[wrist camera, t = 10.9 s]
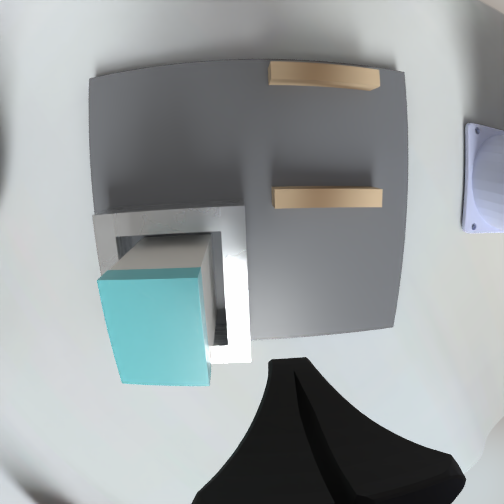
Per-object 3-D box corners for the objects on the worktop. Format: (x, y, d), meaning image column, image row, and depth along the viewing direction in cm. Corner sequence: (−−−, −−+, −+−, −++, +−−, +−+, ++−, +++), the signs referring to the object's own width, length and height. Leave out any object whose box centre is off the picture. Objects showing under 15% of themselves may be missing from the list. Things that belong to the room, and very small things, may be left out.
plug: (211, 233, 18) (197, 277, 12) (217, 313, 20) (209, 386, 13) (143, 237, 18) (96, 280, 12) (153, 314, 20) (122, 383, 13)
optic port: (244, 199, 18) (244, 205, 16) (249, 339, 21) (250, 361, 18) (109, 207, 18) (92, 215, 15) (131, 340, 20) (120, 361, 18)
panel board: (397, 75, 17) (404, 72, 16) (387, 320, 22) (393, 327, 21) (95, 81, 16) (89, 78, 15) (121, 333, 21) (117, 341, 20)
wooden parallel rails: (369, 75, 16) (379, 69, 15) (371, 203, 18) (381, 207, 17) (267, 68, 16) (270, 61, 14) (271, 204, 18) (274, 208, 17)
